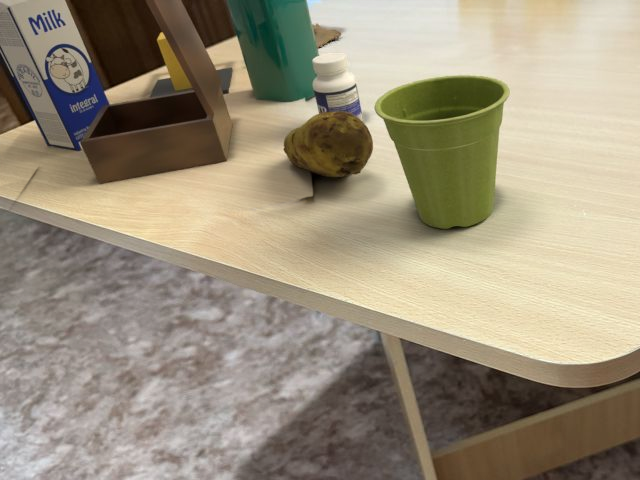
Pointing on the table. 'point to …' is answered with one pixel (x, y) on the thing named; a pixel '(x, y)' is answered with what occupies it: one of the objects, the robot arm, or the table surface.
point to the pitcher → (276, 47)
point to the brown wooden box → (156, 136)
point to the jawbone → (324, 35)
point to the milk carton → (51, 69)
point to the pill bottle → (335, 85)
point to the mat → (167, 88)
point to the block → (173, 65)
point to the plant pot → (447, 144)
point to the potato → (330, 144)
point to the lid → (188, 50)
